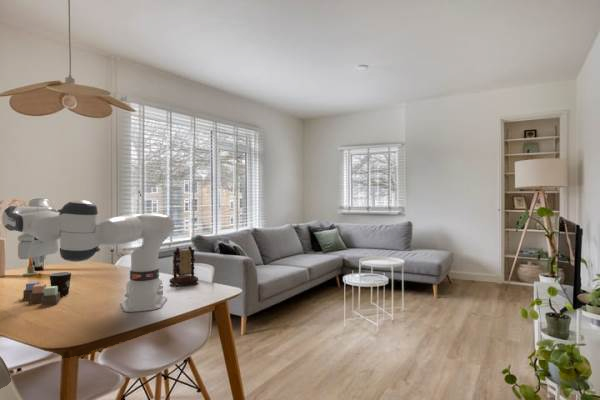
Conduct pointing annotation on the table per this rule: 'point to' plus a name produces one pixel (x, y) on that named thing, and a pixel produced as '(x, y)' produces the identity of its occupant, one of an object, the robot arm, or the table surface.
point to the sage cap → (50, 290)
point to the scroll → (184, 267)
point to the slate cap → (31, 285)
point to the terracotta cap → (38, 288)
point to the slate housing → (26, 294)
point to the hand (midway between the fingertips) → (39, 266)
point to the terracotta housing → (36, 297)
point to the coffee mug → (61, 282)
